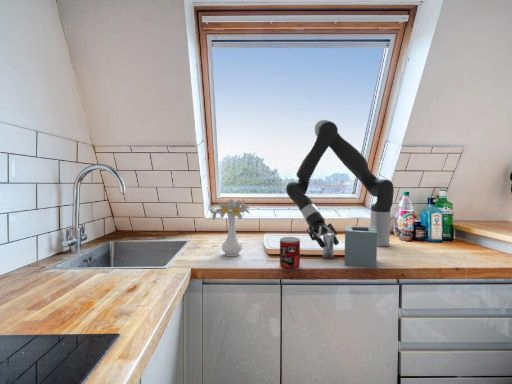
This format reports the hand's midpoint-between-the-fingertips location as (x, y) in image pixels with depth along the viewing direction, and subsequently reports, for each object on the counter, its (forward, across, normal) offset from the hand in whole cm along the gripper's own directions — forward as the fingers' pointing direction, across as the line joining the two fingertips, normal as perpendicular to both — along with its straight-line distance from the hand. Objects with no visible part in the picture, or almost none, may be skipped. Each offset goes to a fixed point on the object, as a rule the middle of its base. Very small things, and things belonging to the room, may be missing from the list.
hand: (330, 245), depth 137 cm
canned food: (+4, -23, +4) cm, 23 cm away
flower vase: (-15, -35, +23) cm, 44 cm away
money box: (+12, +4, -5) cm, 14 cm away
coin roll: (+3, 0, +5) cm, 5 cm away
